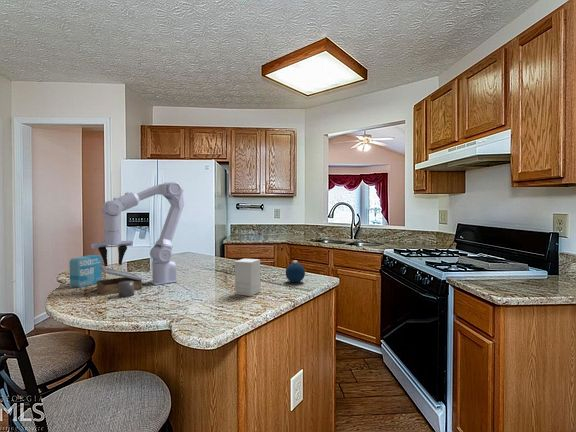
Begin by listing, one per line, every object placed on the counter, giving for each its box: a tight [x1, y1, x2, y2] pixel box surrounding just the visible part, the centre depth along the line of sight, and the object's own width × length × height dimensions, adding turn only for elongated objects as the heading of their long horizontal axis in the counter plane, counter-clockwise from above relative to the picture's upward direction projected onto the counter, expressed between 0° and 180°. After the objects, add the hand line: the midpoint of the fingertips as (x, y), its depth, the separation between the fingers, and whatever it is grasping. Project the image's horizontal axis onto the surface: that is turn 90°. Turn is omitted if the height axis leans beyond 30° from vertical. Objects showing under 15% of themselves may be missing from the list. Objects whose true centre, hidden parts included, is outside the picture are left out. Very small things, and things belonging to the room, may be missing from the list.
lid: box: [99, 266, 143, 281], centre depth 136 cm, size 14×12×1 cm
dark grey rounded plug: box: [118, 281, 135, 298], centre depth 126 cm, size 5×5×5 cm
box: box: [96, 277, 143, 296], centre depth 135 cm, size 14×12×3 cm
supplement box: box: [234, 258, 262, 297], centre depth 128 cm, size 7×7×13 cm
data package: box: [69, 254, 103, 288], centre depth 144 cm, size 12×4×12 cm, turn 163°
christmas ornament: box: [285, 260, 306, 284], centre depth 145 cm, size 8×8×10 cm
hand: (113, 265), depth 134 cm, fingers open, 4 cm apart
